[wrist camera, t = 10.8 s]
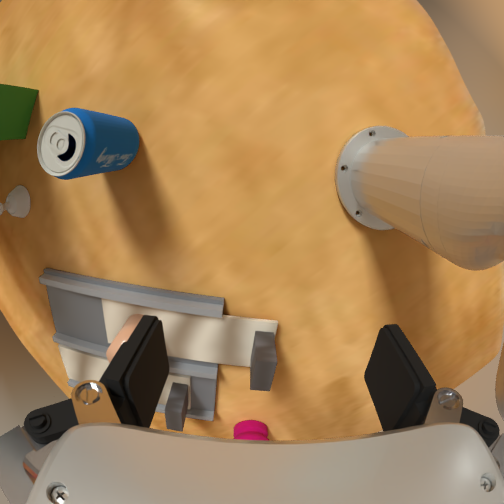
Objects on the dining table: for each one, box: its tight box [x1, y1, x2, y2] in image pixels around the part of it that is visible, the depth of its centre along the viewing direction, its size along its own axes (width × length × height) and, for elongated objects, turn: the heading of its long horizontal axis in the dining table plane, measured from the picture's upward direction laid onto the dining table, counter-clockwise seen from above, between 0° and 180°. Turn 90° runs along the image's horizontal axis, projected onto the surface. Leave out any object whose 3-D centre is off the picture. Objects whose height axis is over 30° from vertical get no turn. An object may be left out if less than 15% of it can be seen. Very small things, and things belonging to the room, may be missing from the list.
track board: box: [39, 268, 224, 421], centre depth 38 cm, size 28×24×2 cm
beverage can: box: [37, 108, 139, 180], centre depth 24 cm, size 6×6×12 cm
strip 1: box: [58, 344, 191, 431], centre depth 37 cm, size 24×8×7 cm, turn 83°
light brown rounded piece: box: [106, 314, 143, 363], centre depth 33 cm, size 5×5×7 cm
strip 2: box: [102, 298, 278, 391], centre depth 34 cm, size 24×8×7 cm, turn 83°
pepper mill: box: [234, 420, 269, 441], centre depth 36 cm, size 7×7×20 cm
